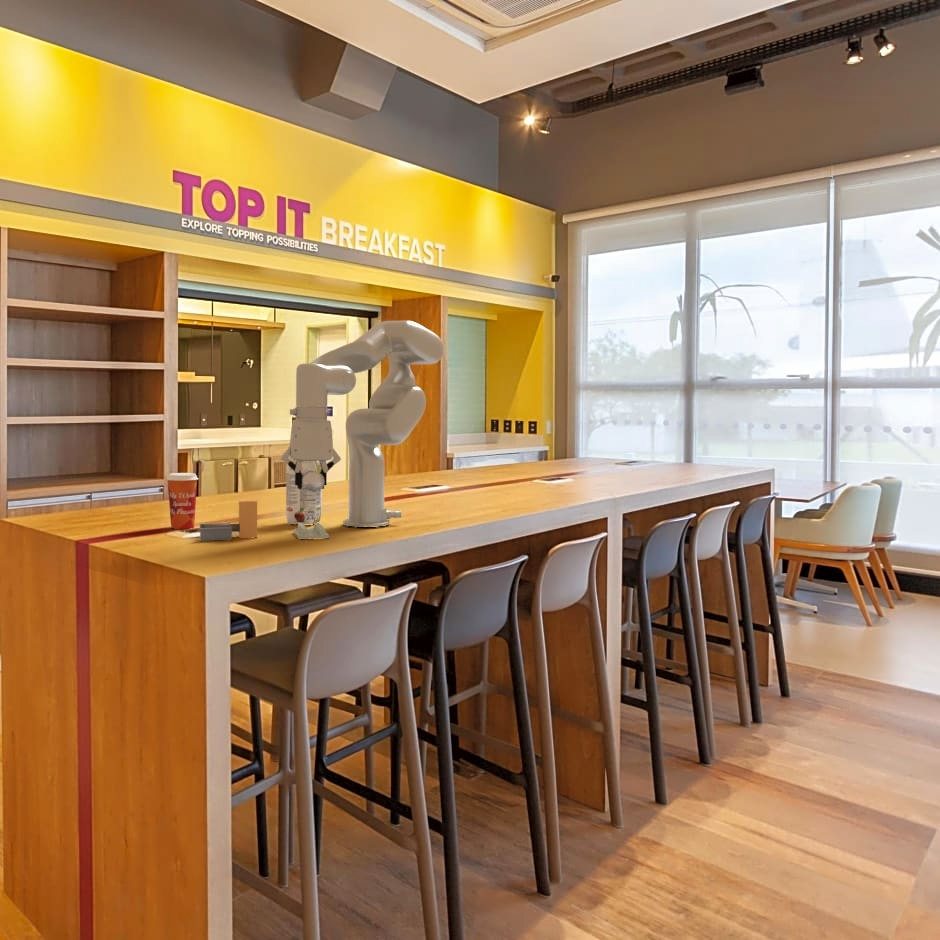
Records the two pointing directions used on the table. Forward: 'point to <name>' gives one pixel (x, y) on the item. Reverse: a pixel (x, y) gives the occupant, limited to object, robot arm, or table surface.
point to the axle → (312, 480)
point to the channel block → (215, 533)
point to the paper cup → (182, 499)
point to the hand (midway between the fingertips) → (310, 487)
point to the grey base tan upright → (243, 519)
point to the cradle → (310, 531)
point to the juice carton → (302, 497)
